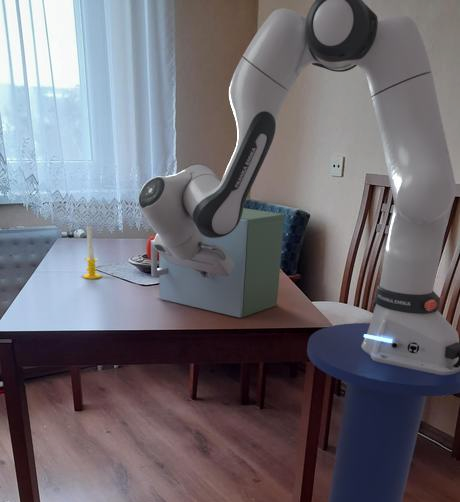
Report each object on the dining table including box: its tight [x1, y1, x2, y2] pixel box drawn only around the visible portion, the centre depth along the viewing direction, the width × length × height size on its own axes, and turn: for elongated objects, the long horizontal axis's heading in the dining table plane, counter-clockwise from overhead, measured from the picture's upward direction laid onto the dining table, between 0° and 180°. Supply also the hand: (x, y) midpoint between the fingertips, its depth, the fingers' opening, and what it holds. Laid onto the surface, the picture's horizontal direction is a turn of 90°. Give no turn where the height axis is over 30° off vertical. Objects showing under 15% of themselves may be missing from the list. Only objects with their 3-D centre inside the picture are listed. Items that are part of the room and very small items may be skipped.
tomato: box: [145, 234, 159, 261], centre depth 186 cm, size 10×11×11 cm
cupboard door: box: [150, 219, 248, 319], centre depth 139 cm, size 6×26×24 cm, turn 58°
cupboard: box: [241, 207, 286, 318], centre depth 149 cm, size 16×26×24 cm, turn 53°
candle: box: [82, 225, 102, 280], centre depth 167 cm, size 5×5×16 cm
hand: (208, 275), depth 140 cm, fingers closed
